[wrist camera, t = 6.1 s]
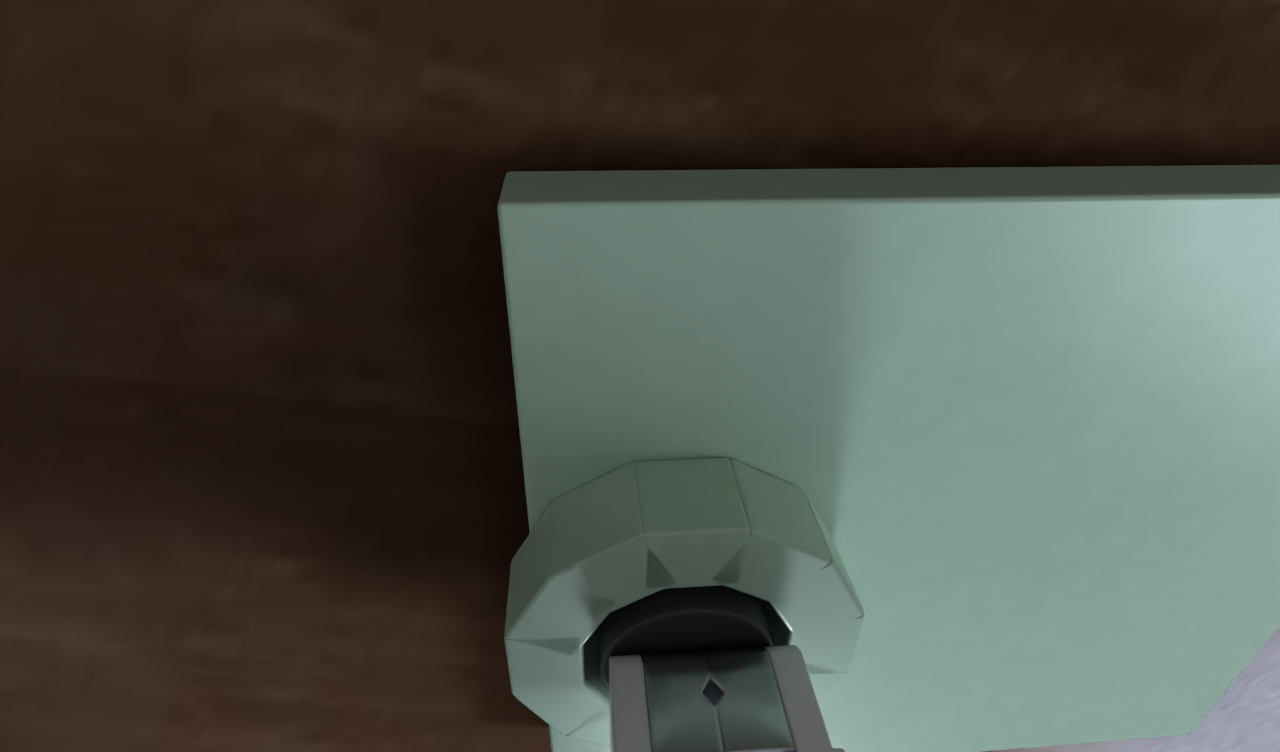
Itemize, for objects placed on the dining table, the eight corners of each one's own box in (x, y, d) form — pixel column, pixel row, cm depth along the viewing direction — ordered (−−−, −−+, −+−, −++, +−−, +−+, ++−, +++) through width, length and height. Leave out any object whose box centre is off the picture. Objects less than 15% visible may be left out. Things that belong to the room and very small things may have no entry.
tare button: (597, 644, 13) (601, 724, 12) (595, 539, 11) (598, 617, 10) (745, 634, 13) (764, 712, 12) (761, 529, 12) (786, 605, 10)
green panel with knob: (541, 730, 17) (536, 867, 15) (479, 169, 10) (447, 256, 7) (1152, 684, 19) (1243, 803, 16) (1527, 161, 11) (1814, 230, 8)
